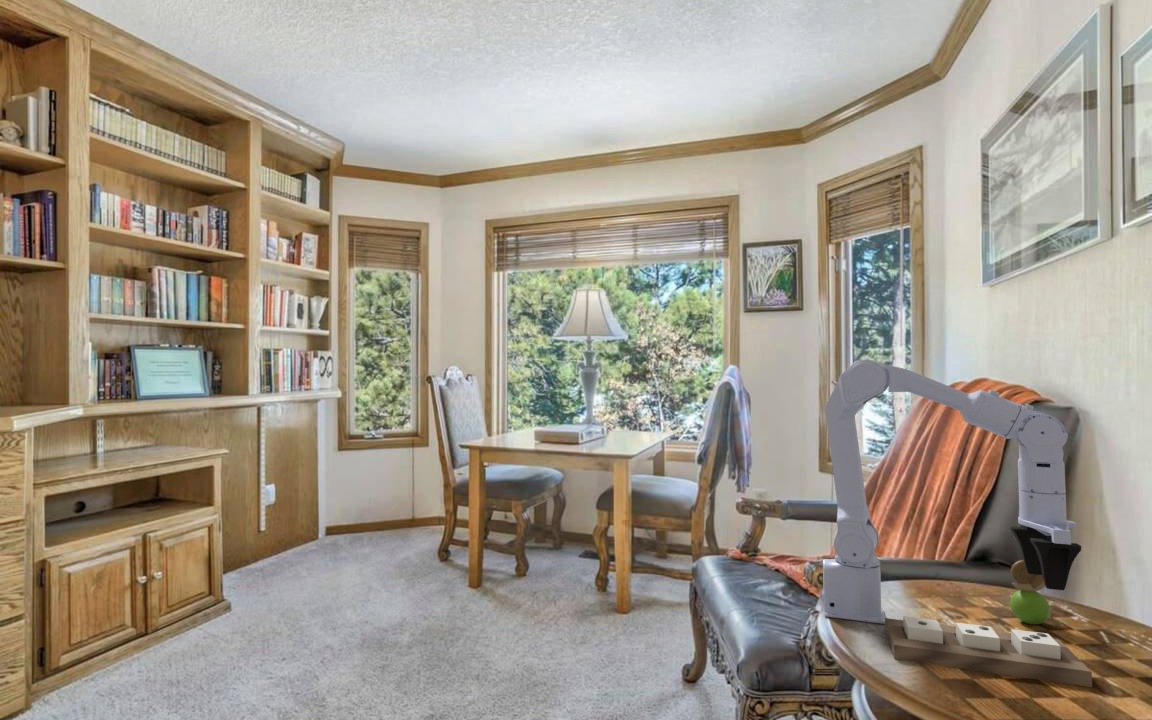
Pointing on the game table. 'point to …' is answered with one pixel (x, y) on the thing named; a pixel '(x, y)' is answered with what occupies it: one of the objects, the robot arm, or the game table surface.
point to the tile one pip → (922, 630)
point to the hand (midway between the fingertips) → (1045, 581)
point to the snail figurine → (1028, 596)
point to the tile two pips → (977, 636)
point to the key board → (987, 657)
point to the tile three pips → (1035, 644)
